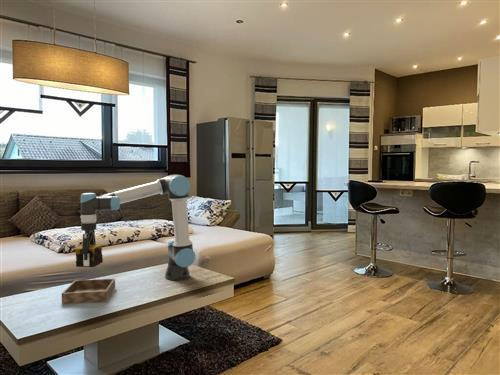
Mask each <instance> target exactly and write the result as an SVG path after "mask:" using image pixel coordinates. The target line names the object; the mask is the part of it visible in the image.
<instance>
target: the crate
mask: <svg viewBox="0 0 500 375" xmlns="http://www.w3.org/2000/svg"><path fill="white" fill-rule="evenodd" d="M115 289H116V278H100V279H99V278H97V279H96V278H94V279H93V278H91V279H75V280H74V281H72V283H70V285H69V286H67V287H66V288H65V290H64V291H62V293H61V304H62V305H72V304H91V303H92V304H93V303H94V304H95V303H107V302H108V301H109V299H110V297H111V296H112V294H113V293H114V291H115Z"/></svg>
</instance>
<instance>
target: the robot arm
mask: <svg viewBox="0 0 500 375" xmlns="http://www.w3.org/2000/svg"><path fill="white" fill-rule="evenodd" d="M190 189H191V183H190V181H189V179H188V178H187V177H186V176H184V175H181V174H169V175H167V176H164V177H162V178H158V179H157V180H156V181H151V182H148V183H145V184H141V185H137V186H133V187H129V188H125V189H121V190H118V191H113V192H110V193H104V194H101V195H100V196H97V195H96V192H95V193H94V192H85V193H81V194H80V216H79V218H80V222H81V223H80V230H82V231H84V233H83V234H82V245H81V246H82V252H81V254H83V262H84V266H89V246H90V245H97V241H96V234H95V232H96V229H97V212H98V211H116V210H119V209H120V207H121V206H120V205H121V204H125V203H129V202H133V201H136V200H140V199H144V198H147V197H153V196H155V195H158V194H160V195H166V194H168V200H169V201H171V209H172V212H171V213H172V221H173V223H172V224H173V234H174V240H170V241H168V243H167V268H166V270H165V273H164V275H165V276H164V277H165V279H167V280H170V281H181V280H186V279H188V277H189V278H190V270H189V267H190V266H192V265H193V264H194V263H195V260H196V253H195V251H194V248H193V247H194V246H193V241H191V239H190V228H189V215H188V203H187V200H188V199H189V198H190V195H189V192H190Z"/></svg>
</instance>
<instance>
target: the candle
mask: <svg viewBox="0 0 500 375" xmlns="http://www.w3.org/2000/svg"><path fill="white" fill-rule="evenodd" d="M102 250H103V245H102V244H96V245H90V246H89V266H84V262H83V254H81V252H82V245H81V246H78V247H76V248H75V259H76V260H75V266H76V268H96V267H97V266H99V265H100V264H102V263H103V262H104V261H103V259H104V258H103V257H104V256H103V251H102Z"/></svg>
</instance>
